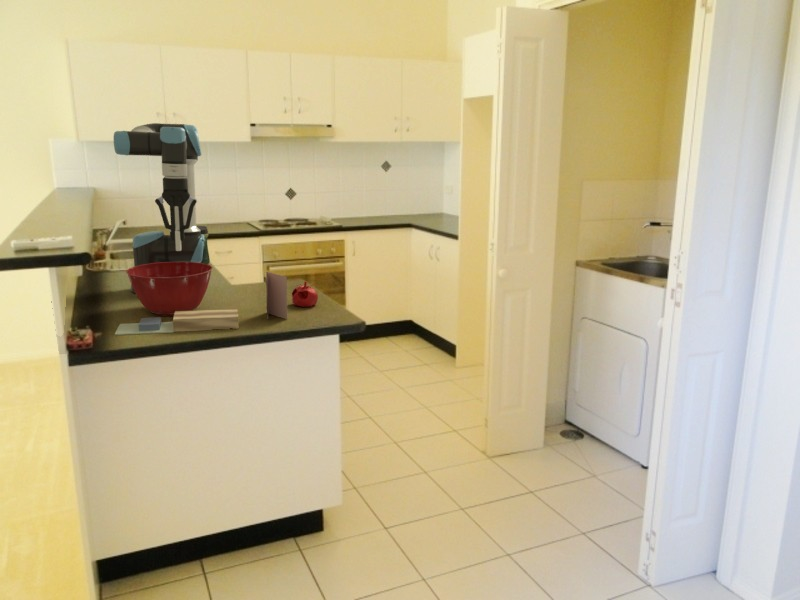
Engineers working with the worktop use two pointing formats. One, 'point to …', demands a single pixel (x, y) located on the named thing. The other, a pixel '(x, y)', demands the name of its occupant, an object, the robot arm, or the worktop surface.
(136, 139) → the robot arm
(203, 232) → the coffee jar
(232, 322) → the tan block
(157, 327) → the blue-grey flat block
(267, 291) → the greeting card
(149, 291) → the mixing bowl
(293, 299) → the pomegranate
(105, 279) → the worktop surface
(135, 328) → the rubber mat
